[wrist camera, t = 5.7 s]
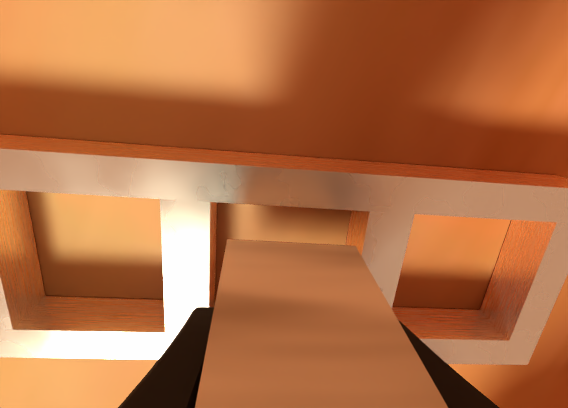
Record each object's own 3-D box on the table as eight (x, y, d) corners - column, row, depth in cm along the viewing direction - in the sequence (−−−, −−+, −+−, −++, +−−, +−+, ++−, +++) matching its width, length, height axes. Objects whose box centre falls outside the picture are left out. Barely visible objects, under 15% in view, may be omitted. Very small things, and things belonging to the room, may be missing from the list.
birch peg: (336, 345, 12) (404, 581, 6) (223, 343, 12) (190, 591, 6) (355, 245, 11) (462, 433, 5) (227, 238, 10) (189, 435, 5)
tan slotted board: (497, 332, 17) (527, 365, 15) (17, 320, 14) (-19, 356, 13) (557, 175, 14) (604, 190, 12) (-25, 132, 12) (-79, 142, 10)
